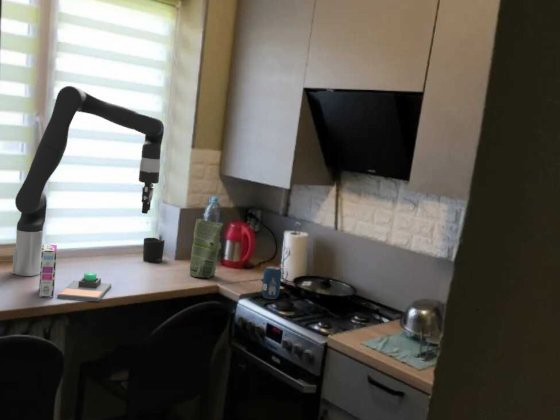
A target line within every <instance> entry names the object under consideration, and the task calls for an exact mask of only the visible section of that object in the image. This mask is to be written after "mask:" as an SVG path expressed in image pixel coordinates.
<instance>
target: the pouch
mask: <svg viewBox="0 0 560 420" xmlns="http://www.w3.org/2000/svg"><path fill="white" fill-rule="evenodd" d="M223 225H224V223H223V222H222V221H221V222H215V221H213V222H212V221H211V219H209V220H205V219H204V218H203V219H202V218H196V220H195V226H194V229H193V243H192V245H191V253H190V264H189V275H190V276H192V277H195V278H207V279H210V278H211V277H214V276H215V275H216V270H217V265H218V254H219V251H220V249H222V242H220V238H221V237H222V235H221V231H222V227H224V226H223Z"/></svg>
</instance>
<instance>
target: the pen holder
mask: <svg viewBox="0 0 560 420" xmlns="http://www.w3.org/2000/svg"><path fill="white" fill-rule="evenodd" d="M142 248H143V252H142V255H143V256H142V259H143V261H144V262H146V263H151V264H159V263H161V262H162V261H163V257H164V250H165V249H164V248H165V239H162V240H160V239H158V238H157V237H145V238H143V247H142Z"/></svg>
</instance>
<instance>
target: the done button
mask: <svg viewBox="0 0 560 420" xmlns="http://www.w3.org/2000/svg"><path fill="white" fill-rule="evenodd" d="M97 276H98V275H97V273H95V272H85V273H84V274H83V277H84V281H89V282H95V281H96V278H98V277H97Z"/></svg>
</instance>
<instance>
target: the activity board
mask: <svg viewBox="0 0 560 420" xmlns="http://www.w3.org/2000/svg"><path fill="white" fill-rule="evenodd" d="M111 288H112V283H107V282H106V283H104V282H102V278H100V277H96V281H95V282H89V281H84V276H83V277H82V278H81V279H80V280H72V281H71V282H70V283H69V284H68V285H67V286H65V288H63V289H62V290H61V291H59V293H57V295H56V296H57V299H67V300H74V301H75V300H76V301H89V302H100V301H101V300H102V298H103V297H104V295H106V294H107V292H108V291H109V290H110V289H111Z"/></svg>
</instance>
